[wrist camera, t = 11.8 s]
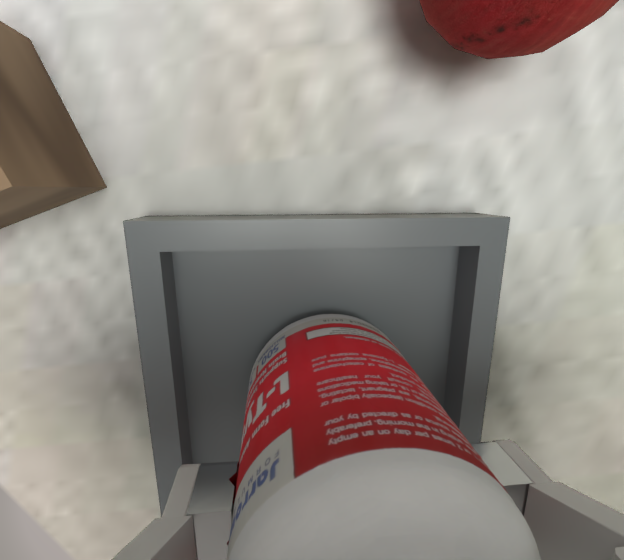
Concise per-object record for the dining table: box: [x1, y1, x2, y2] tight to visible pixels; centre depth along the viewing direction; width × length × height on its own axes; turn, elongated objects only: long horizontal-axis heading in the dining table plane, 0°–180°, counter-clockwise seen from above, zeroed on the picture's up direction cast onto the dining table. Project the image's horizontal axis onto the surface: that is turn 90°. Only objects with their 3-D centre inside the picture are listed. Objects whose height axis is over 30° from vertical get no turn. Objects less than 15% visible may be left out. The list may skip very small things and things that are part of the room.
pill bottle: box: [227, 314, 541, 560], centre depth 9 cm, size 6×6×11 cm
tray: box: [123, 213, 510, 518], centre depth 15 cm, size 13×13×2 cm
